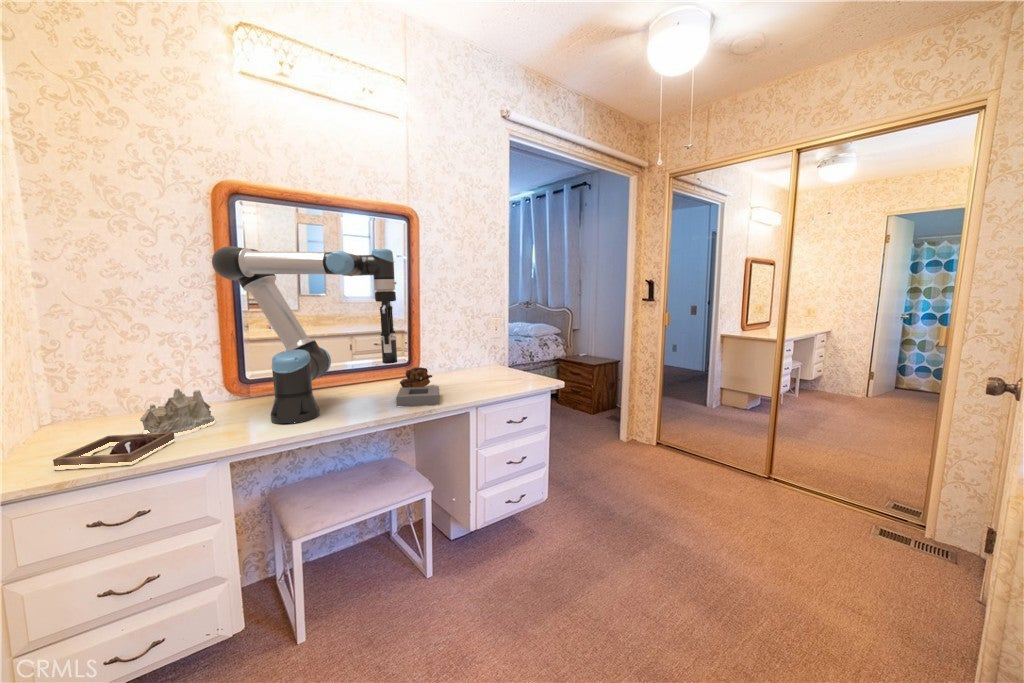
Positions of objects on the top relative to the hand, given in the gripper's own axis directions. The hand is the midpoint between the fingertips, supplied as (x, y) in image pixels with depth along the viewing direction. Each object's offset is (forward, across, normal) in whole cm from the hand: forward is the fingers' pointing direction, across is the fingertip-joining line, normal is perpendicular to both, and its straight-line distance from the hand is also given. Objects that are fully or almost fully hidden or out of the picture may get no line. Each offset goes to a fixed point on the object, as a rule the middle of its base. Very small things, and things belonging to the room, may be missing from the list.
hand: (389, 351), depth 149 cm
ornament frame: (+20, -36, +68) cm, 79 cm away
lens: (+4, 0, 0) cm, 4 cm away
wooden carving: (+22, +22, -8) cm, 32 cm away
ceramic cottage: (+20, -16, +65) cm, 70 cm away
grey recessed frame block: (+22, +4, -10) cm, 24 cm away
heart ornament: (+21, -36, +63) cm, 76 cm away
